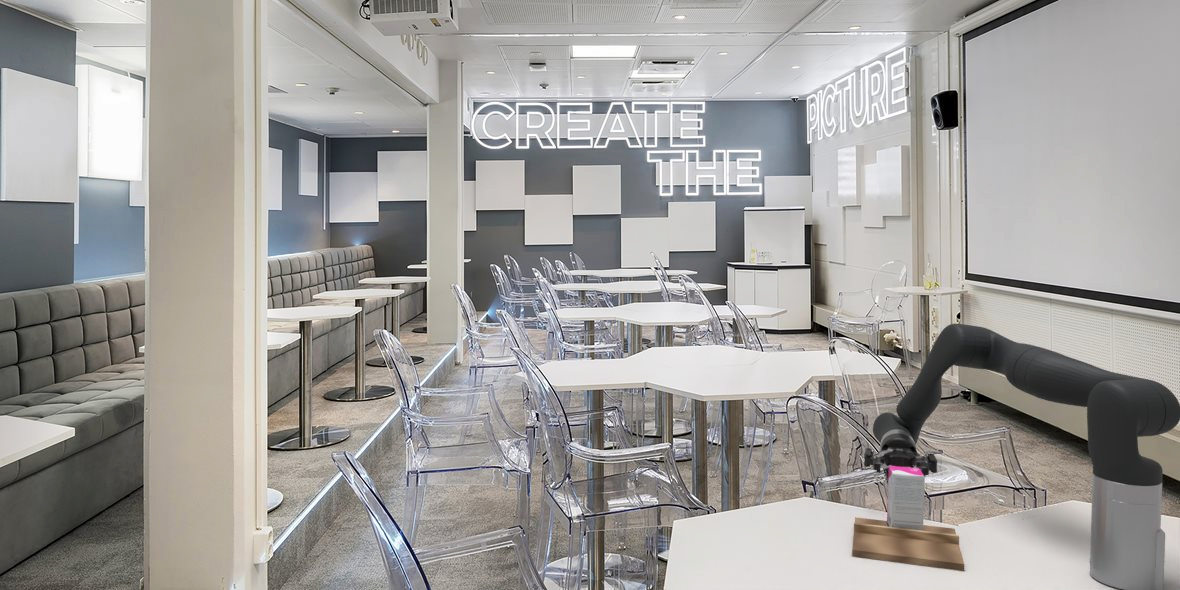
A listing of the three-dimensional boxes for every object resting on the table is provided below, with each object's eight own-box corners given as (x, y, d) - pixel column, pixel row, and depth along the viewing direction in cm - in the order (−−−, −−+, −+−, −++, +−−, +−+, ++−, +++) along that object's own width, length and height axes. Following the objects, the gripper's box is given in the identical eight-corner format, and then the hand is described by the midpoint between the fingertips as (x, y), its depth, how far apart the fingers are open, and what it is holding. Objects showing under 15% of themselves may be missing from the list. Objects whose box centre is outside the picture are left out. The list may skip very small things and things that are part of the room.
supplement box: (924, 536, 138) (925, 475, 137) (890, 533, 139) (891, 473, 139) (918, 524, 143) (919, 466, 143) (886, 522, 145) (886, 465, 144)
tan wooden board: (954, 534, 141) (954, 520, 141) (964, 571, 126) (964, 555, 125) (854, 523, 148) (855, 509, 148) (852, 556, 132) (852, 541, 132)
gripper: (864, 430, 169) (864, 449, 153) (933, 435, 163) (939, 455, 148) (864, 462, 169) (863, 484, 154) (932, 468, 164) (938, 491, 149)
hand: (901, 470), depth 151 cm, fingers open, 8 cm apart
